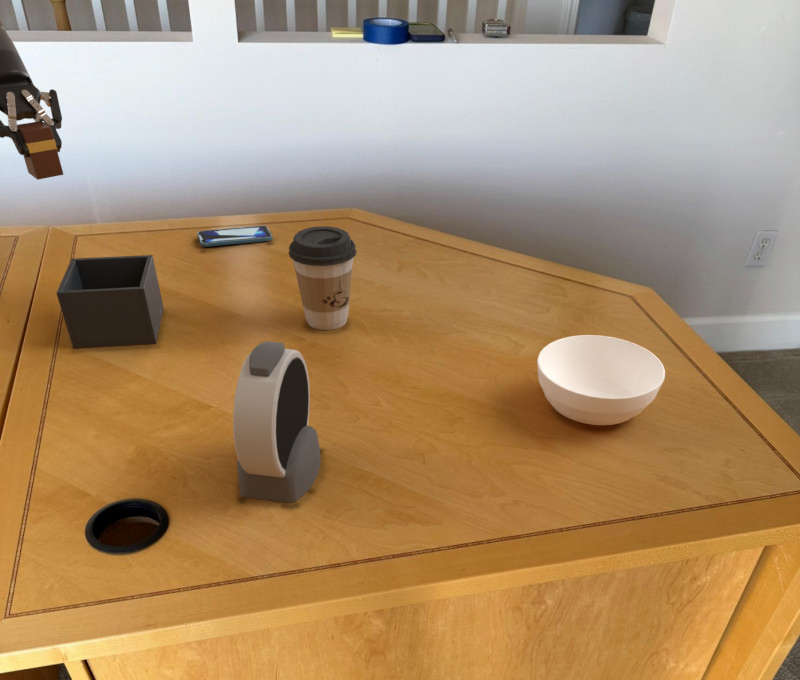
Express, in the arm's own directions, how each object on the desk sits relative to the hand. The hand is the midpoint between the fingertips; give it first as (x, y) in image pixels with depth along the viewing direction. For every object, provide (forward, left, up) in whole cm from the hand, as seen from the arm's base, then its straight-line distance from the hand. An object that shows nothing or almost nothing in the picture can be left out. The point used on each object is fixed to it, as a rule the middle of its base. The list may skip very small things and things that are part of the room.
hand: (42, 151), depth 137 cm
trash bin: (+12, -25, -22) cm, 35 cm away
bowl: (+86, -60, -22) cm, 107 cm away
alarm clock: (+39, -70, -22) cm, 83 cm away
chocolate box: (-1, +2, -4) cm, 5 cm away
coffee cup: (+48, -27, -22) cm, 59 cm away
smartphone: (+31, +13, -22) cm, 40 cm away
